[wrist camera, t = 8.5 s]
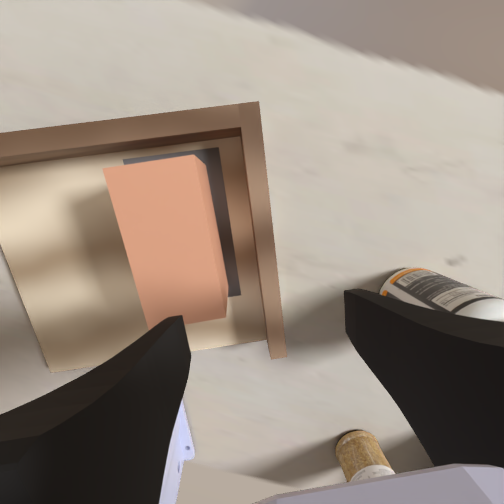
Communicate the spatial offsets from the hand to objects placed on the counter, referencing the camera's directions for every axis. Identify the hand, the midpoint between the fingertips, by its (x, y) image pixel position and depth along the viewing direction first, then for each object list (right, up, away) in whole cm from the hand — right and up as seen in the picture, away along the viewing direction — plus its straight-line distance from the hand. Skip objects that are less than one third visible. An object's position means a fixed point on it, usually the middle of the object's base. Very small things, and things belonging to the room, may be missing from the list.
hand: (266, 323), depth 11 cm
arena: (-9, +3, +8) cm, 13 cm away
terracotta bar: (-5, +4, +7) cm, 10 cm away
